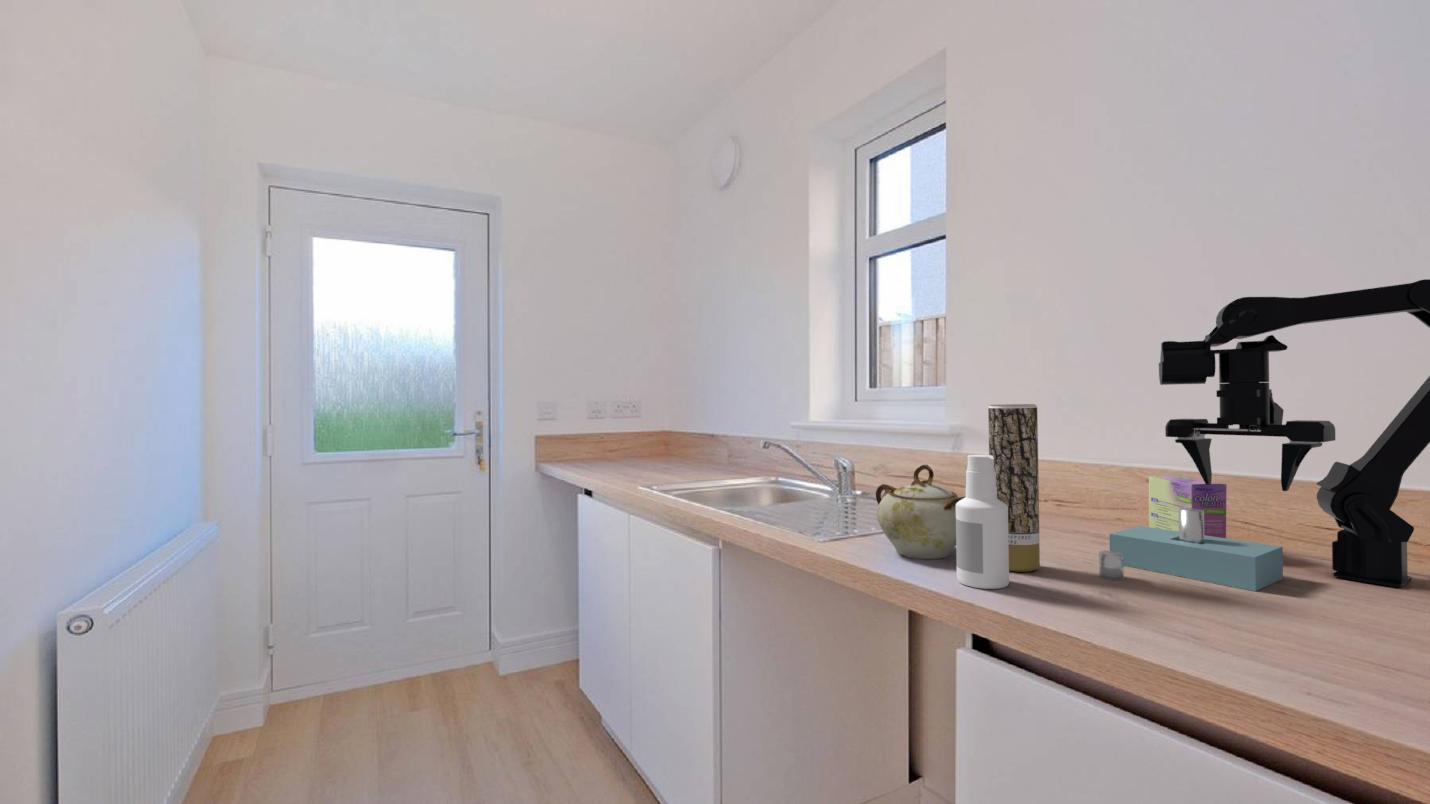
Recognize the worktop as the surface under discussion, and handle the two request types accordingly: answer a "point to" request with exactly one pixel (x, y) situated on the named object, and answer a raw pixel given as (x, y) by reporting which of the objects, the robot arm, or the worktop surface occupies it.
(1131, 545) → the hole beam
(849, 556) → the worktop surface
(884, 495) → the sugar bowl
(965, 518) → the spray bottle
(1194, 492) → the box
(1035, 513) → the paper tube
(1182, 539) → the tall steel pin
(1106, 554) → the short steel pin
